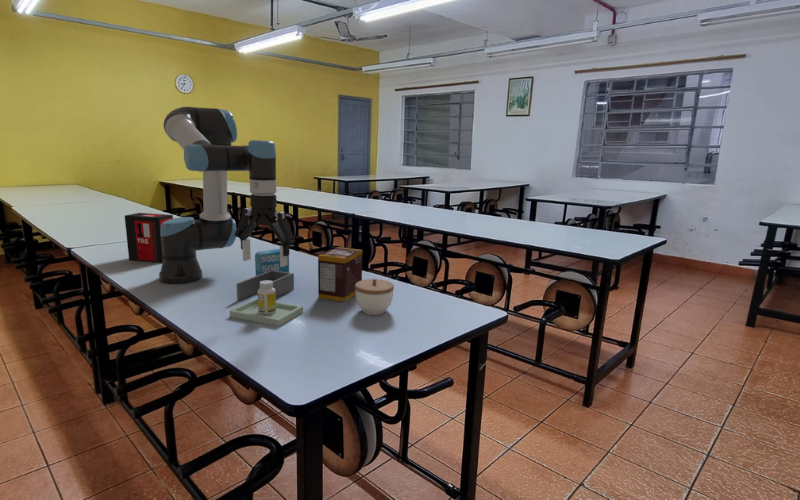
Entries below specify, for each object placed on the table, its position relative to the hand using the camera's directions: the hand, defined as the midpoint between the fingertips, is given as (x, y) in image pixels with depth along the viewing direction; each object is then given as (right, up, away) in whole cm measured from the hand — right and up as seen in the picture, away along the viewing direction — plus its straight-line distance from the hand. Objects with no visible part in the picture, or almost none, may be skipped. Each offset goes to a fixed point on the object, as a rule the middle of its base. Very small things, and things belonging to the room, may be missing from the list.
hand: (265, 263), depth 138 cm
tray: (0, -16, +4) cm, 17 cm away
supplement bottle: (0, -16, +4) cm, 16 cm away
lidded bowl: (+33, -16, +10) cm, 38 cm away
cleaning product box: (-69, 0, +63) cm, 93 cm away
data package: (-8, -8, +38) cm, 40 cm away
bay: (-6, -12, +23) cm, 26 cm away
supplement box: (+20, -12, +26) cm, 35 cm away
